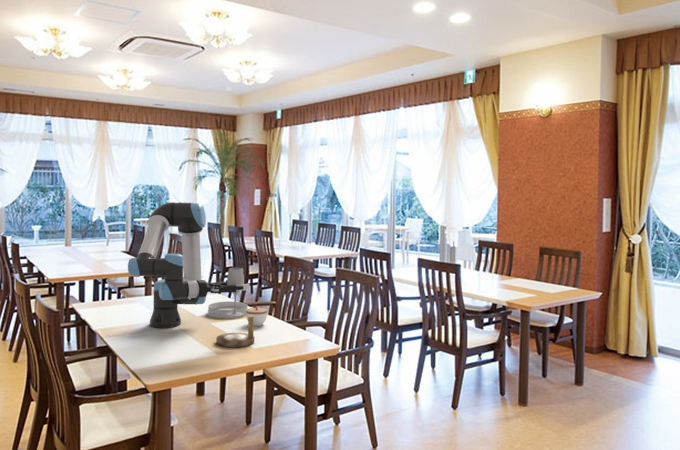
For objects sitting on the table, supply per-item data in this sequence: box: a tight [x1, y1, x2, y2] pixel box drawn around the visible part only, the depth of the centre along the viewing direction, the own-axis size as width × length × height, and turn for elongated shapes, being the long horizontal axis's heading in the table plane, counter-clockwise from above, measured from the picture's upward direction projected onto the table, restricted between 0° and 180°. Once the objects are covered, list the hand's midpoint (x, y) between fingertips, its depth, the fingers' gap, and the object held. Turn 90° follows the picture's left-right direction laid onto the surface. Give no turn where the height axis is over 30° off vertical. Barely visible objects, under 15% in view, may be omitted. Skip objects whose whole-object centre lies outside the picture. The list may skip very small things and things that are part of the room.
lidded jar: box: [246, 306, 268, 327], centre depth 275 cm, size 11×11×9 cm
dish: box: [207, 301, 249, 319], centre depth 298 cm, size 22×22×5 cm
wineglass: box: [227, 267, 245, 316], centre depth 240 cm, size 8×8×21 cm
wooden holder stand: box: [215, 316, 255, 348], centre depth 241 cm, size 17×17×12 cm
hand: (245, 285), depth 243 cm, fingers closed on wineglass, 8 cm apart
